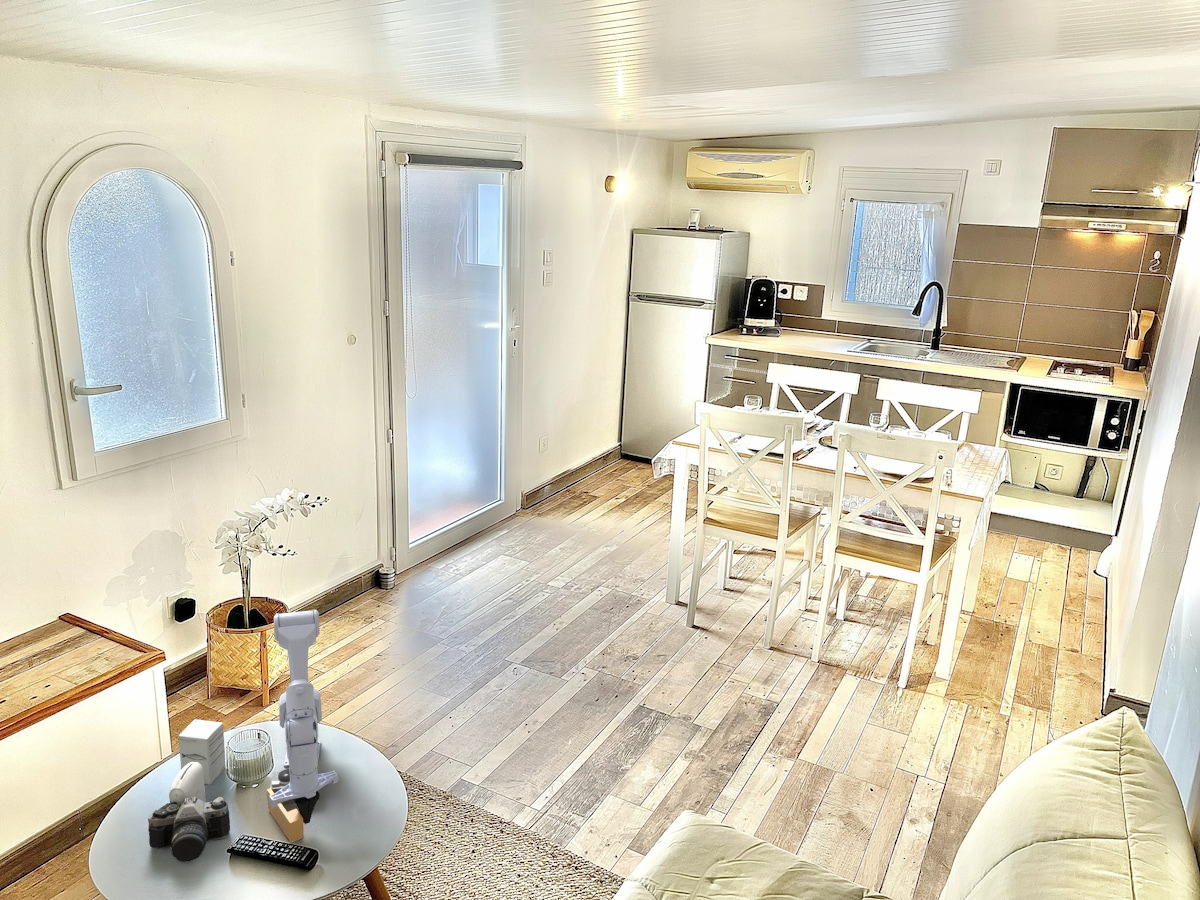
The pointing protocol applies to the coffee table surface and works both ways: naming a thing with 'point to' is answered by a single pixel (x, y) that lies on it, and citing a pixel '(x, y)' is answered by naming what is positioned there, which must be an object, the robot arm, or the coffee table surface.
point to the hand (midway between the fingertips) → (305, 820)
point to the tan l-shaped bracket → (287, 820)
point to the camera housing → (281, 783)
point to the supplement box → (203, 747)
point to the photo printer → (188, 784)
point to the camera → (188, 826)
